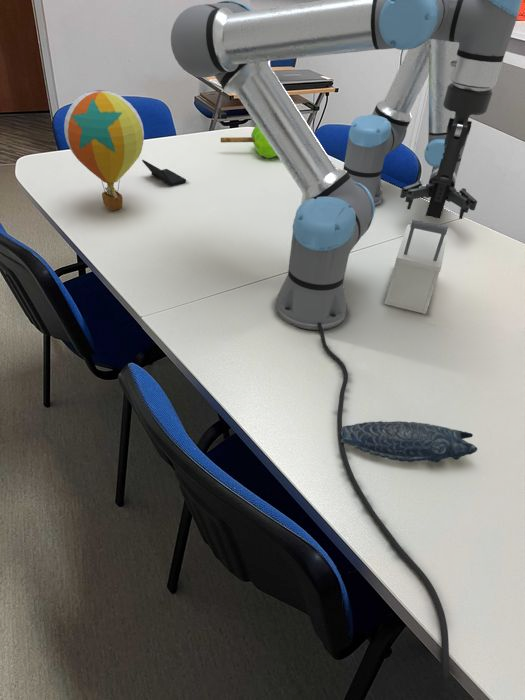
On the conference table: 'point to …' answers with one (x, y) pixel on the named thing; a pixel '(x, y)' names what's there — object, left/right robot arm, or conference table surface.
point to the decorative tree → (255, 142)
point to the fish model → (407, 440)
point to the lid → (423, 245)
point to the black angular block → (165, 175)
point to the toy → (105, 138)
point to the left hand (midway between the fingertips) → (436, 203)
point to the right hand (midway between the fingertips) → (435, 209)
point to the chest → (411, 287)
